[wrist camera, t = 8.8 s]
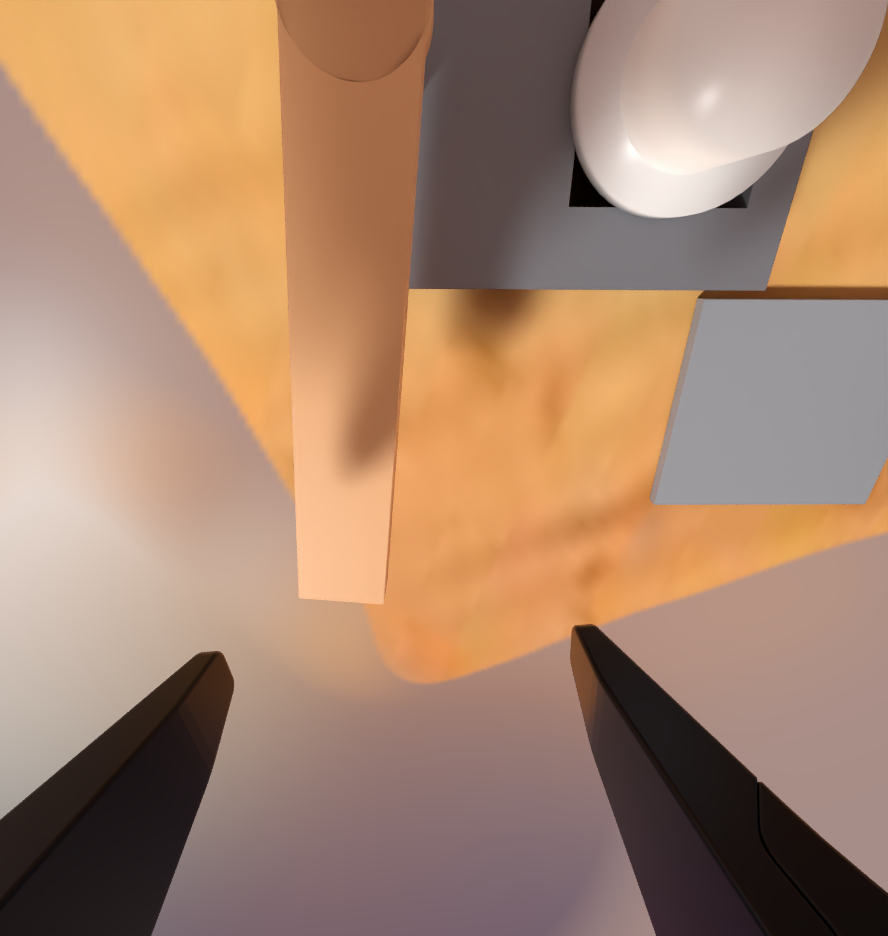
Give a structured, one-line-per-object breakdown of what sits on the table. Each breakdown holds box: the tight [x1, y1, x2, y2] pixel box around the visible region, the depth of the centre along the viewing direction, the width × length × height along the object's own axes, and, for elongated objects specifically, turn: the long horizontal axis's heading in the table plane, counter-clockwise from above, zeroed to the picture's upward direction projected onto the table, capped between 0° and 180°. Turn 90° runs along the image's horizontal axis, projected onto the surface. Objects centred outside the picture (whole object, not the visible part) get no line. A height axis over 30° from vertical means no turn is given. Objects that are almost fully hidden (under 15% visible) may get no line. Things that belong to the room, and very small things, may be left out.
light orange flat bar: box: [275, 0, 434, 604], centre depth 10 cm, size 14×3×1 cm, turn 174°
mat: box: [650, 298, 888, 505], centre depth 19 cm, size 10×9×1 cm
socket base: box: [409, 0, 813, 291], centre depth 12 cm, size 13×10×7 cm
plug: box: [570, 0, 888, 219], centre depth 12 cm, size 6×6×7 cm
